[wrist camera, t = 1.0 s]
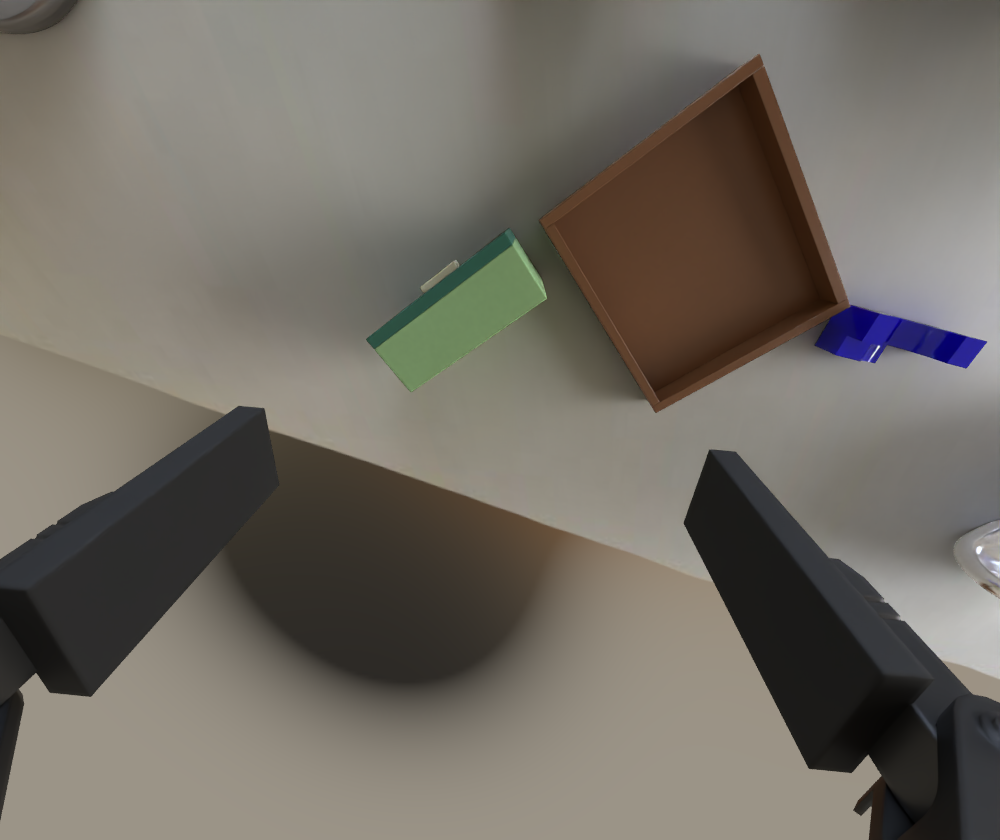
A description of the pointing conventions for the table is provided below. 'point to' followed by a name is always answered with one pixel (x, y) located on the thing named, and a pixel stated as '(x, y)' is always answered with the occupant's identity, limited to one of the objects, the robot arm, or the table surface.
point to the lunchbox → (459, 311)
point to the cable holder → (893, 338)
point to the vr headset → (981, 556)
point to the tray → (701, 242)
